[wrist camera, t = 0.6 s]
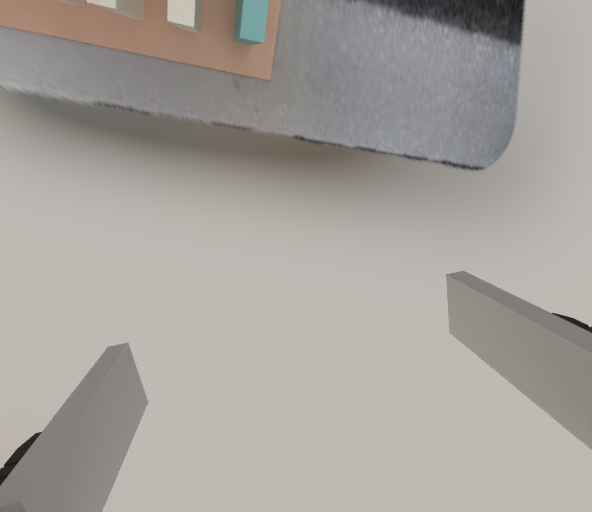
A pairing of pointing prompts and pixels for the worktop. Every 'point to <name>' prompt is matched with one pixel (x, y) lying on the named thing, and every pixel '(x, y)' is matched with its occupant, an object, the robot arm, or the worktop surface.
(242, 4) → the domino
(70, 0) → the domino
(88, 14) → the mat
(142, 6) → the domino
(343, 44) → the worktop surface
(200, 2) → the domino
